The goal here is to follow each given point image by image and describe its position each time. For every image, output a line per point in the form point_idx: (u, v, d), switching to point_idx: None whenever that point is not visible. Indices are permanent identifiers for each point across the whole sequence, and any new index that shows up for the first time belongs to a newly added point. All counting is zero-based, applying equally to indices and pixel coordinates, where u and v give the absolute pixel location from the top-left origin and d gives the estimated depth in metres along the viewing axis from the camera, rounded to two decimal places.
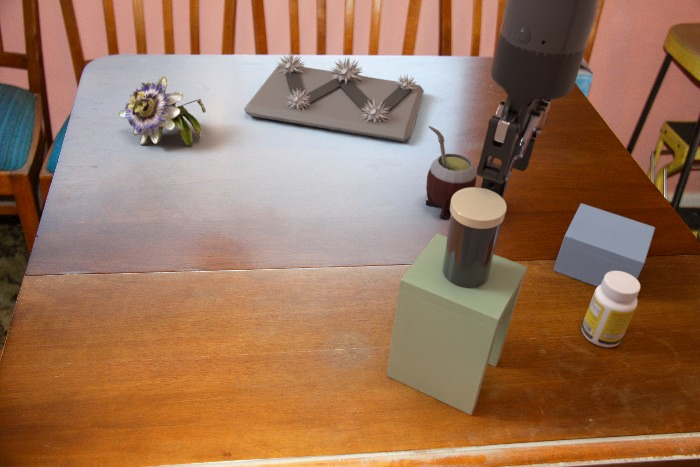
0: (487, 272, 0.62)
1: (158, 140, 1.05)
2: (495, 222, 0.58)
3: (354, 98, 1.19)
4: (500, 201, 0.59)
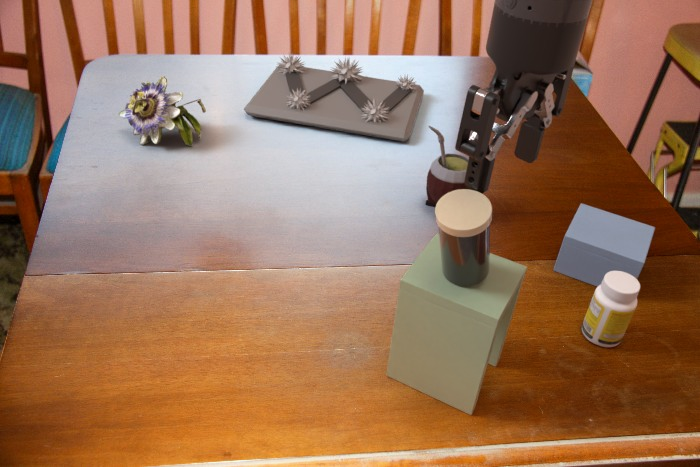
0: (485, 269, 0.62)
1: (158, 140, 1.05)
2: (480, 228, 0.56)
3: (354, 98, 1.19)
4: (485, 203, 0.58)
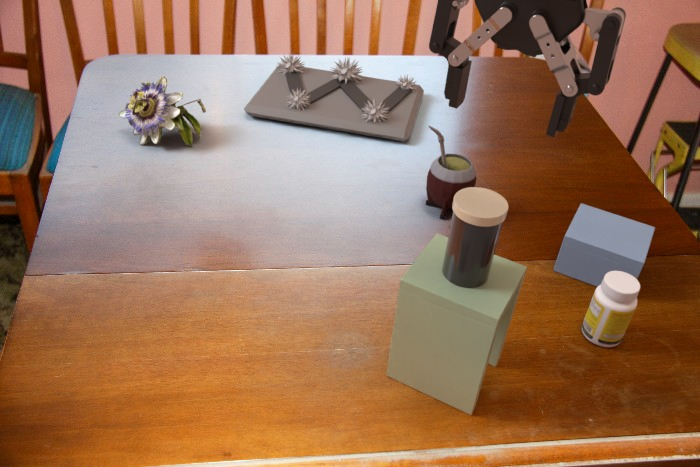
0: (487, 272, 0.63)
1: (158, 140, 1.05)
2: (497, 220, 0.58)
3: (354, 98, 1.19)
4: (502, 200, 0.60)
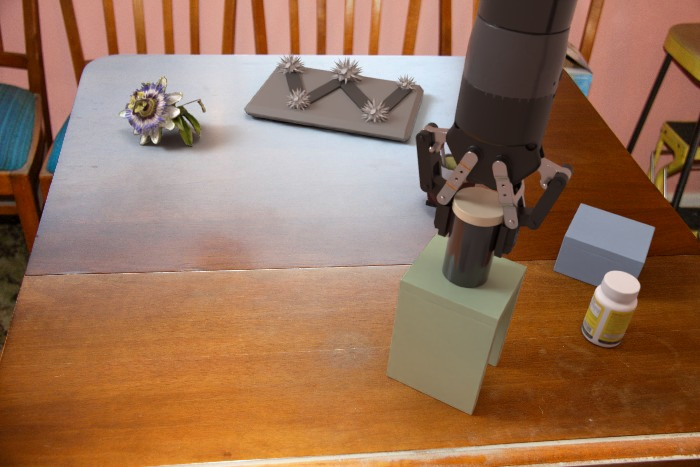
0: (487, 272, 0.63)
1: (158, 140, 1.05)
2: (497, 220, 0.58)
3: (354, 98, 1.19)
4: None
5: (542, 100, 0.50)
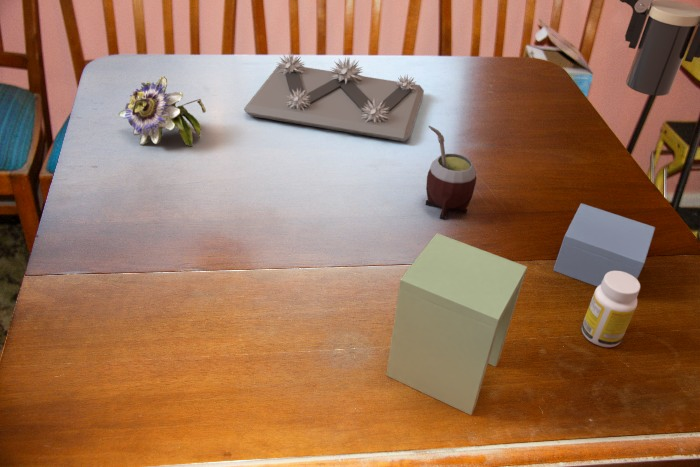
0: (673, 81, 0.69)
1: (158, 140, 1.05)
2: (696, 20, 0.64)
3: (354, 98, 1.19)
4: (694, 8, 0.66)
5: None
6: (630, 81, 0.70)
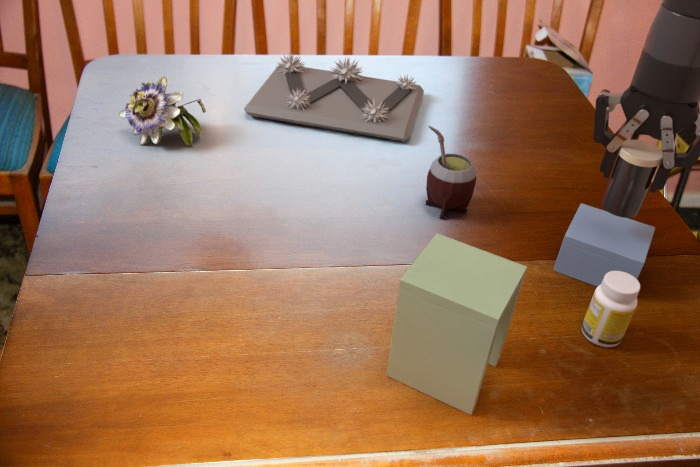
0: (640, 205, 0.82)
1: (158, 140, 1.05)
2: (657, 162, 0.77)
3: (354, 98, 1.19)
4: (657, 149, 0.79)
5: None
6: (604, 204, 0.83)
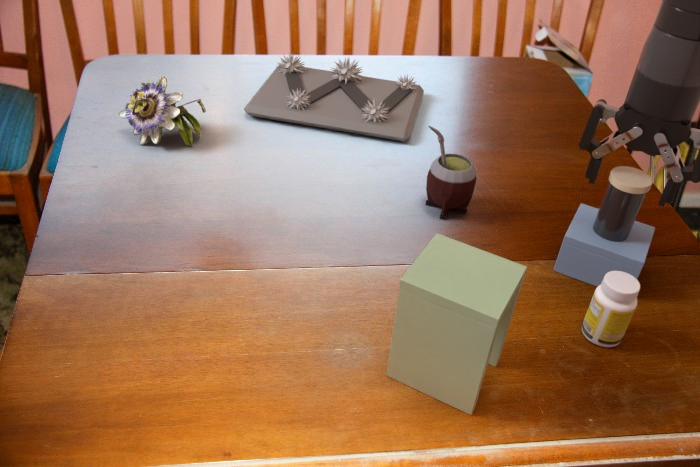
0: (630, 230, 0.84)
1: (158, 140, 1.05)
2: (646, 189, 0.79)
3: (354, 98, 1.19)
4: (646, 175, 0.81)
5: None
6: (595, 228, 0.85)
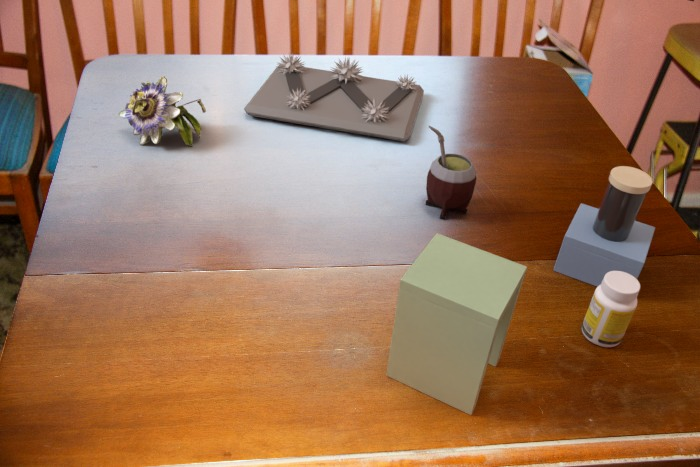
0: (630, 230, 0.84)
1: (158, 140, 1.05)
2: (646, 189, 0.79)
3: (354, 98, 1.19)
4: (646, 175, 0.81)
5: None
6: (595, 228, 0.85)
